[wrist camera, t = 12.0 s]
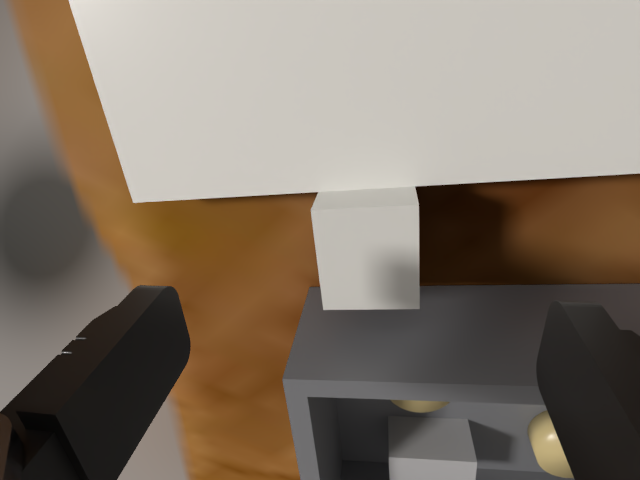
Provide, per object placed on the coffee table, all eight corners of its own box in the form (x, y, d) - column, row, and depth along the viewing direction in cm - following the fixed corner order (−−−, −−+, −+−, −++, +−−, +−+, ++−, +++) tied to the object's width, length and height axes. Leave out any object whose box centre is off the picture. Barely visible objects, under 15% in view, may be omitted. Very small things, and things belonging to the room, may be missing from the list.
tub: (309, 286, 20) (282, 379, 14) (744, 282, 17) (910, 396, 11) (331, 456, 25) (317, 570, 20) (667, 475, 22) (757, 616, 17)
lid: (52, -193, 13) (-71, -277, 10) (722, -357, 10) (909, -573, 6) (181, 263, 20) (138, 311, 17) (599, 250, 17) (656, 306, 14)
